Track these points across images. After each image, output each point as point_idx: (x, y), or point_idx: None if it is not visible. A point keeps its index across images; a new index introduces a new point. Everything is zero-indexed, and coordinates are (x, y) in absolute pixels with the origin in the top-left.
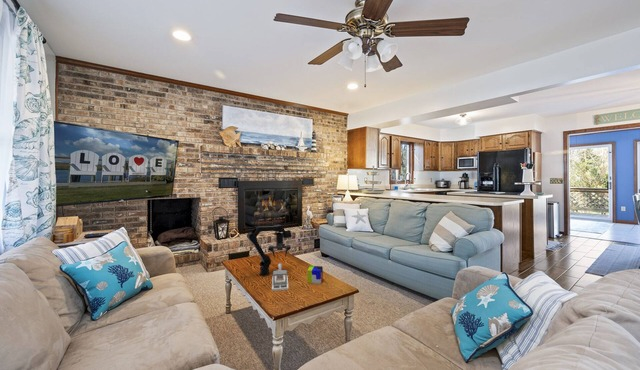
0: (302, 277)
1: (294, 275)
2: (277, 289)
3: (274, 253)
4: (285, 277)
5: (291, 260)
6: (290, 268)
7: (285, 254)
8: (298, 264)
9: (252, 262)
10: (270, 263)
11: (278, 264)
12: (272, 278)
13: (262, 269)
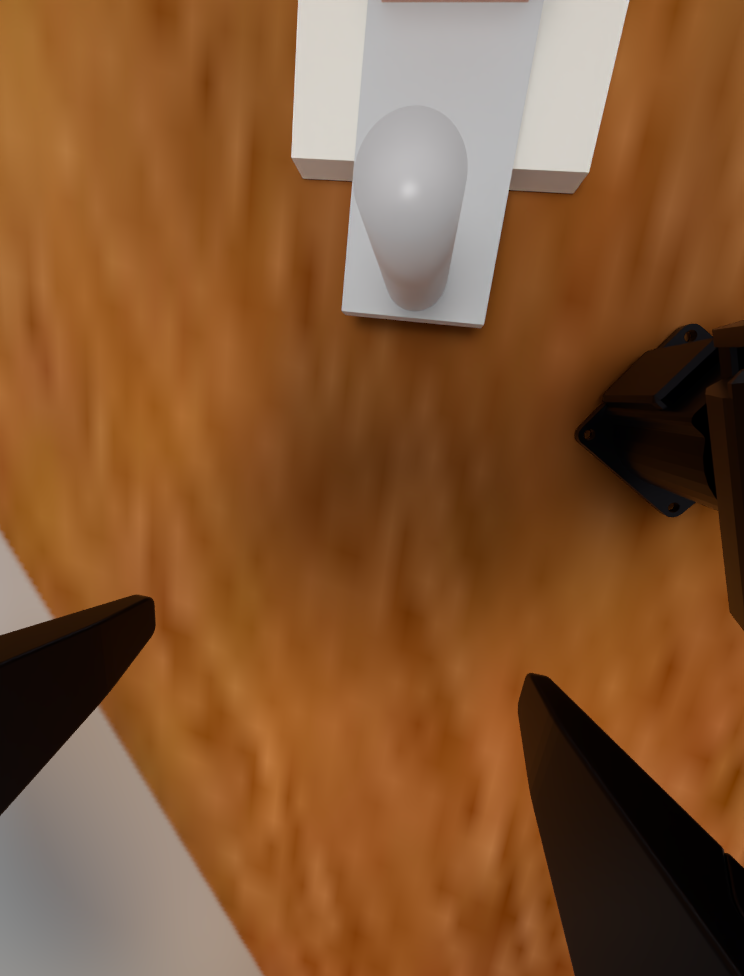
0: (64, 85)
1: (187, 224)
2: None
3: (585, 929)
4: None
5: (206, 787)
6: (231, 541)
7: (35, 641)
8: None
9: None
10: (714, 393)
11: (462, 145)
12: (624, 9)
13: None
